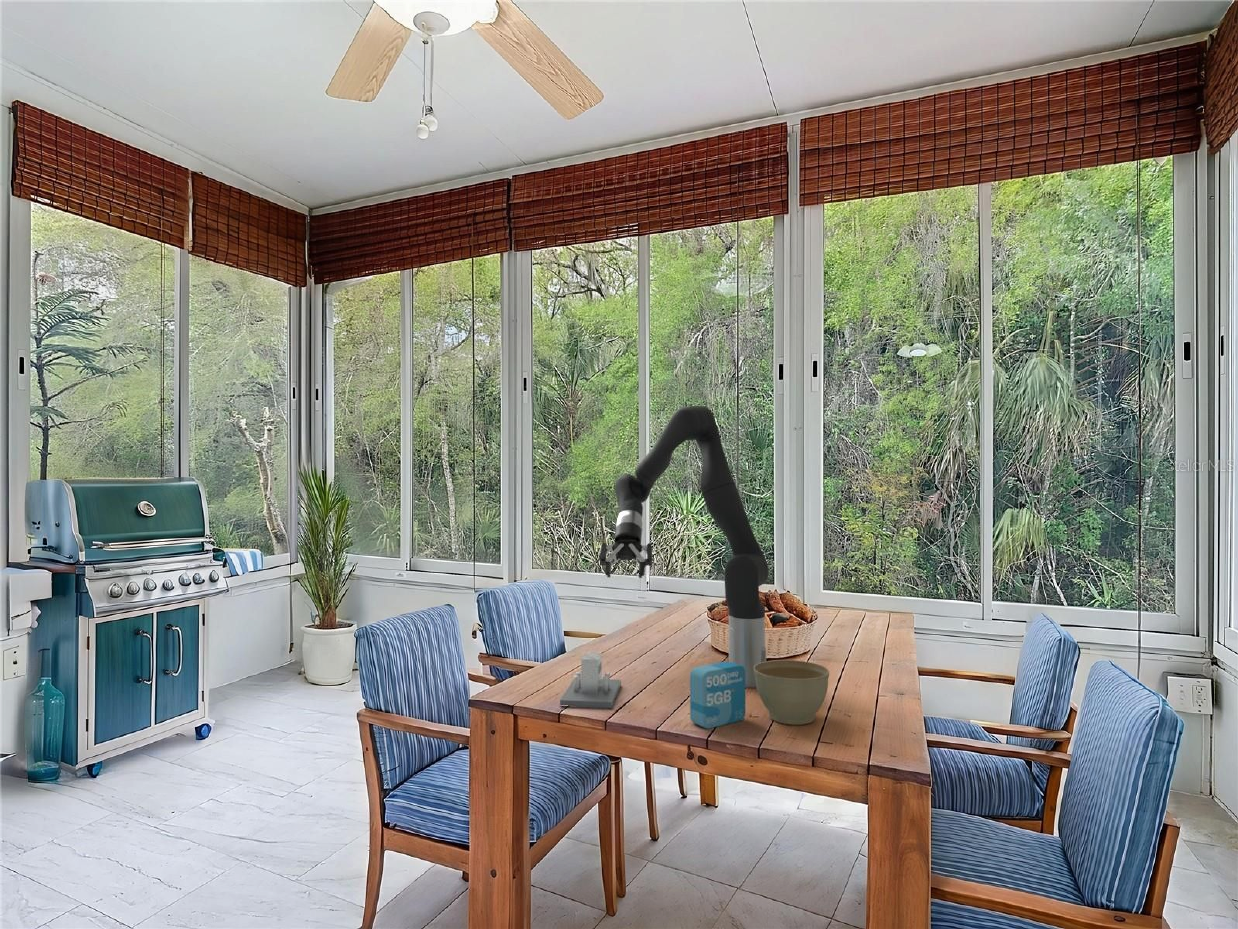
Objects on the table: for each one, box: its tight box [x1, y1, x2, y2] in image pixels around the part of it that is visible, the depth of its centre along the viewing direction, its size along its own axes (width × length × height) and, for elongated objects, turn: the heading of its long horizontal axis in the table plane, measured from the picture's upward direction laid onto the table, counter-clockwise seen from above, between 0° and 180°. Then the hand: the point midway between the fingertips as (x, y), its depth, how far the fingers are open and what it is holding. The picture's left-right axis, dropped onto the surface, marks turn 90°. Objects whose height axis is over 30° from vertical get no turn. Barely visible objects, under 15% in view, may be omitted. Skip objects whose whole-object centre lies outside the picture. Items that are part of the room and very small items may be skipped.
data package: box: [689, 660, 746, 730], centre depth 152 cm, size 12×4×12 cm, turn 123°
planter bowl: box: [754, 659, 830, 726], centre depth 154 cm, size 16×16×11 cm
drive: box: [580, 652, 603, 693], centre depth 171 cm, size 4×6×8 cm
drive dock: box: [559, 671, 622, 709], centre depth 171 cm, size 12×18×5 cm, turn 173°
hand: (624, 575), depth 188 cm, fingers open, 8 cm apart
